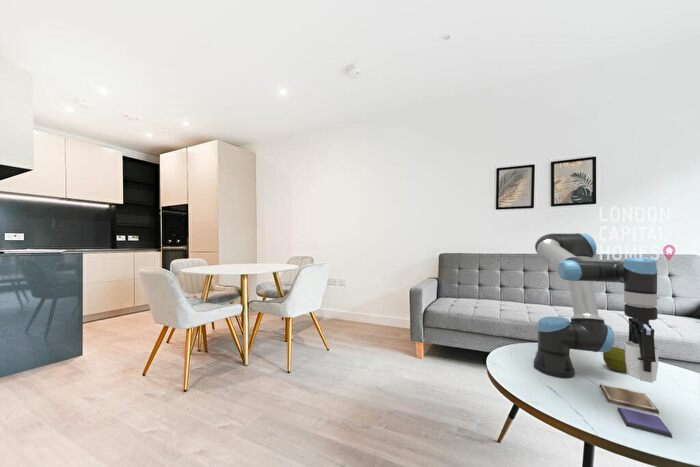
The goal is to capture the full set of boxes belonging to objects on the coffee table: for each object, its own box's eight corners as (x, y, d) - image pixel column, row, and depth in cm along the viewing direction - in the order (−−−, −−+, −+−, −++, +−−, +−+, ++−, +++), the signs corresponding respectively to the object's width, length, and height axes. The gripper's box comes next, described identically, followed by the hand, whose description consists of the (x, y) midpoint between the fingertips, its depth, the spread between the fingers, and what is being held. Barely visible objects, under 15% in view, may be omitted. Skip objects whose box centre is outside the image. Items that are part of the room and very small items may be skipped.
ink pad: (626, 426, 89) (626, 421, 89) (617, 409, 98) (617, 406, 98) (672, 437, 84) (672, 433, 84) (658, 419, 92) (658, 415, 93)
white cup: (617, 371, 95) (617, 341, 95) (638, 370, 96) (638, 340, 96) (643, 383, 87) (643, 350, 87) (666, 382, 88) (666, 350, 88)
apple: (613, 374, 124) (612, 349, 124) (597, 364, 134) (597, 341, 134) (639, 376, 122) (638, 350, 123) (621, 366, 132) (621, 342, 132)
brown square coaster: (608, 402, 102) (608, 398, 102) (599, 386, 113) (599, 383, 113) (658, 413, 96) (658, 410, 96) (644, 395, 107) (644, 392, 107)
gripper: (671, 314, 81) (672, 393, 81) (644, 300, 99) (645, 366, 98) (635, 310, 85) (636, 386, 85) (615, 298, 103) (616, 361, 102)
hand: (641, 375), depth 91 cm, fingers closed on white cup, 8 cm apart
